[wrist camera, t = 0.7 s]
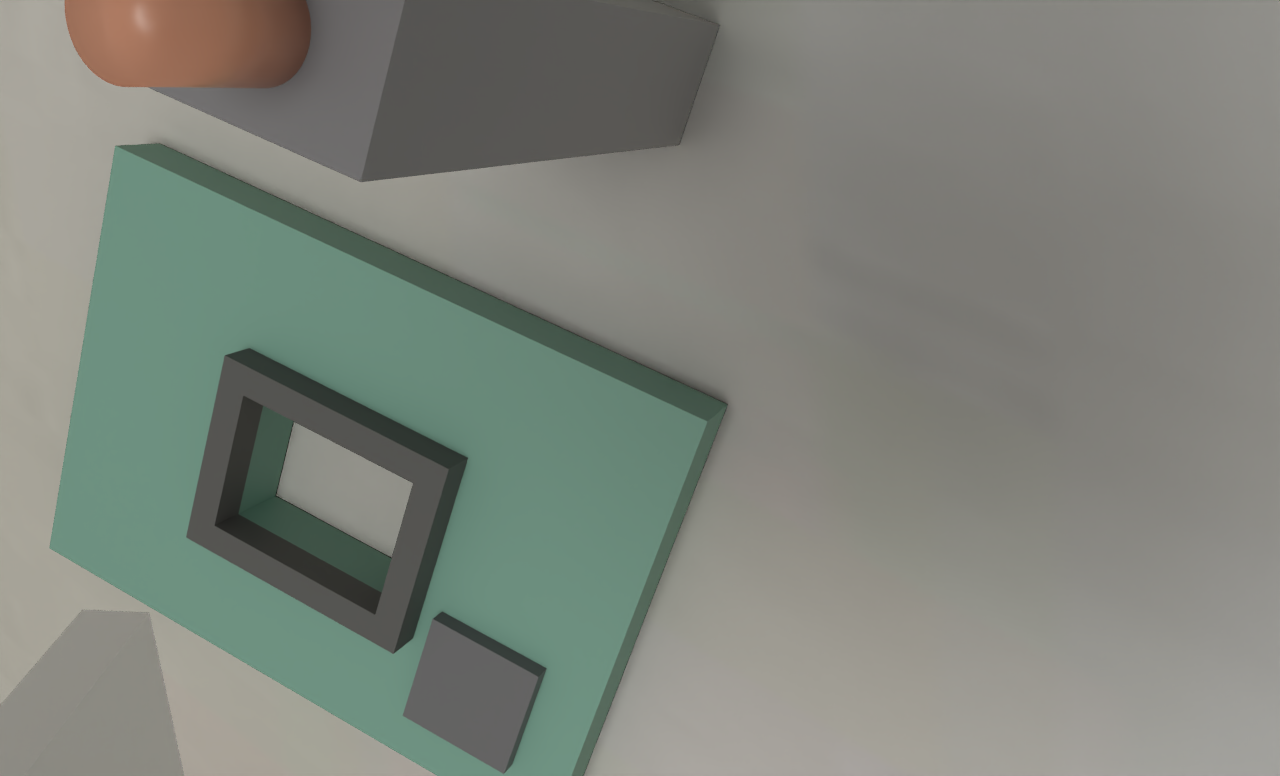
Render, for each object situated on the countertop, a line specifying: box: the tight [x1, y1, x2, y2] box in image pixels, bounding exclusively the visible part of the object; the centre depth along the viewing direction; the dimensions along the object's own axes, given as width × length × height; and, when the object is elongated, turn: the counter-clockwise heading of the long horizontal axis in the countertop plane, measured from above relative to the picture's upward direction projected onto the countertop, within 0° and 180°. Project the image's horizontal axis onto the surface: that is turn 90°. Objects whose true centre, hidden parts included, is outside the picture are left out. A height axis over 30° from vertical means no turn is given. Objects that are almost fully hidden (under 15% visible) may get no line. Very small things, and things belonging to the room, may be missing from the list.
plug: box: [65, 0, 720, 182], centre depth 25 cm, size 5×4×19 cm, turn 70°
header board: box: [50, 144, 727, 776], centre depth 39 cm, size 22×16×3 cm
